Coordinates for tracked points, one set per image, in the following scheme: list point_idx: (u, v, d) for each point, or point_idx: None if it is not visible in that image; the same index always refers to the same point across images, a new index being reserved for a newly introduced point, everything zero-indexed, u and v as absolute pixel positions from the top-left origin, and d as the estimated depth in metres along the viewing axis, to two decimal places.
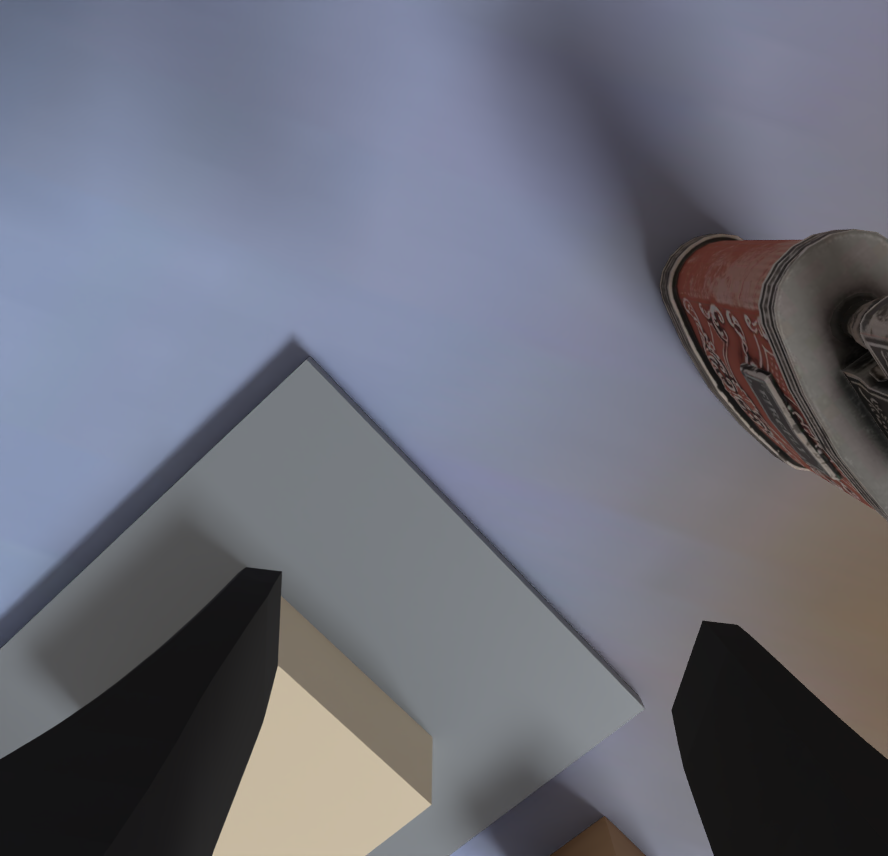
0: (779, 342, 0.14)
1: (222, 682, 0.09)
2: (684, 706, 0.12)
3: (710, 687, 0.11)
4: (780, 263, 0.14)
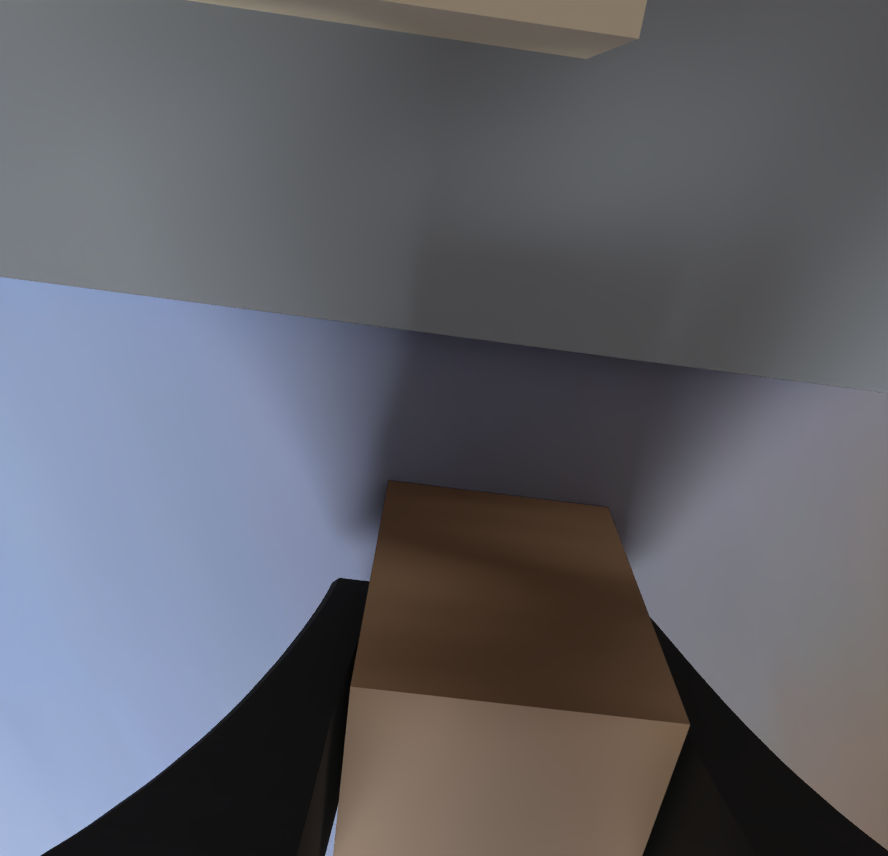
0: None
1: (342, 695, 0.09)
2: None
3: None
4: None
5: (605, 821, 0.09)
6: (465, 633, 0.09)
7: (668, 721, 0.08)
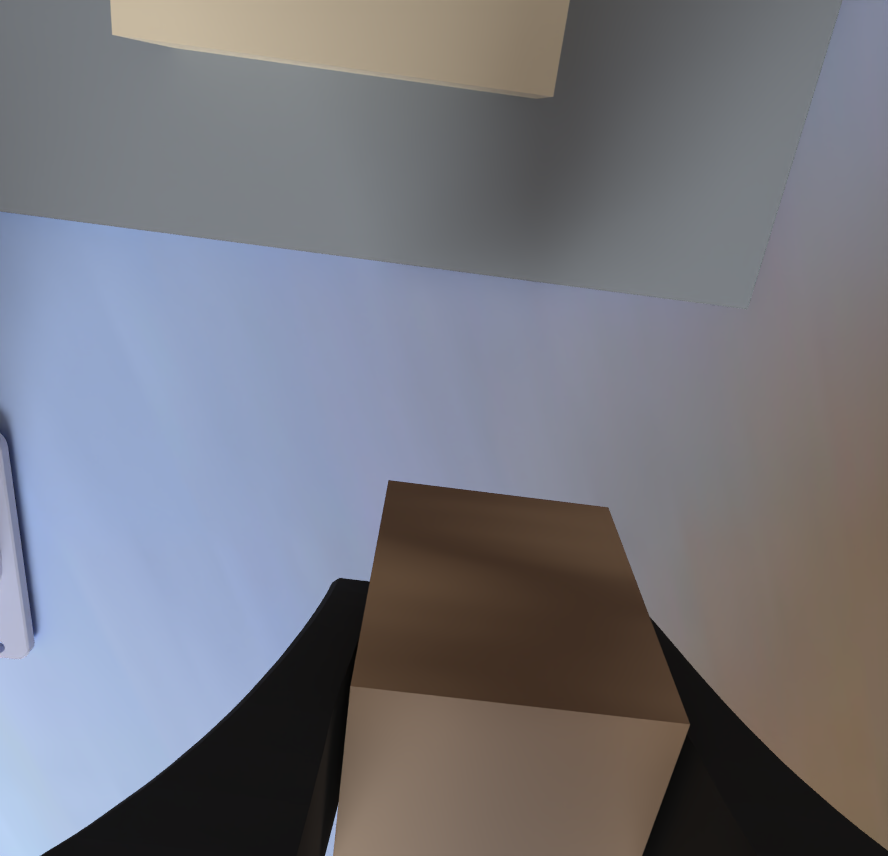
0: None
1: (342, 695, 0.09)
2: None
3: None
4: None
5: (605, 821, 0.09)
6: (466, 632, 0.09)
7: (668, 721, 0.08)
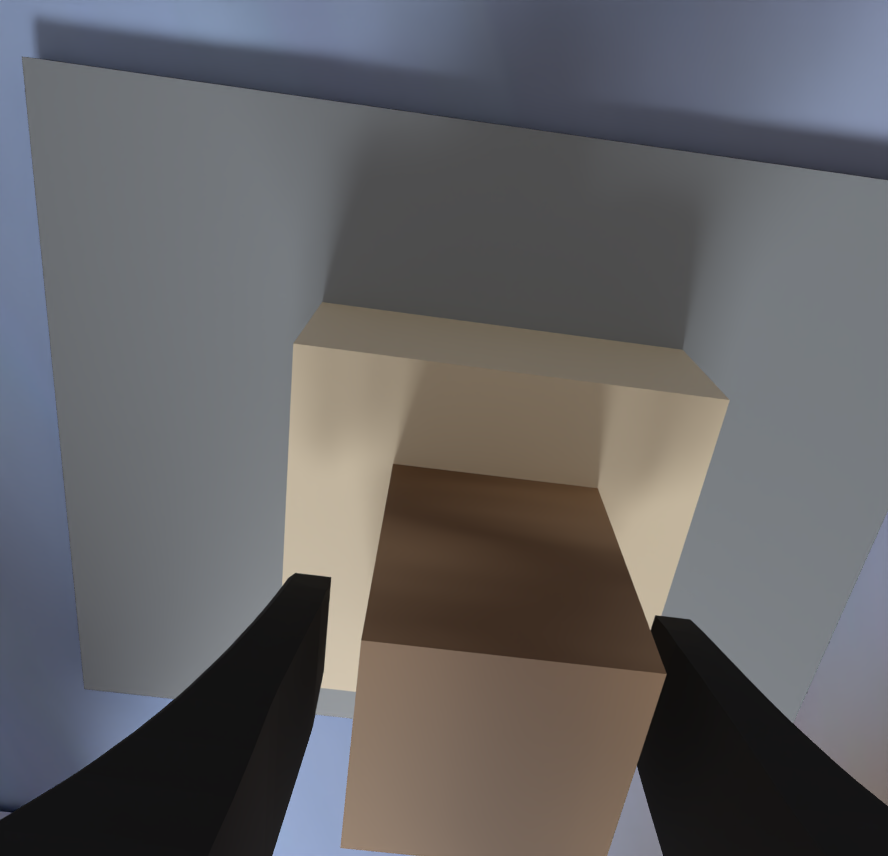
0: None
1: (286, 689, 0.09)
2: None
3: None
4: None
5: (592, 766, 0.10)
6: (464, 595, 0.10)
7: (647, 670, 0.09)
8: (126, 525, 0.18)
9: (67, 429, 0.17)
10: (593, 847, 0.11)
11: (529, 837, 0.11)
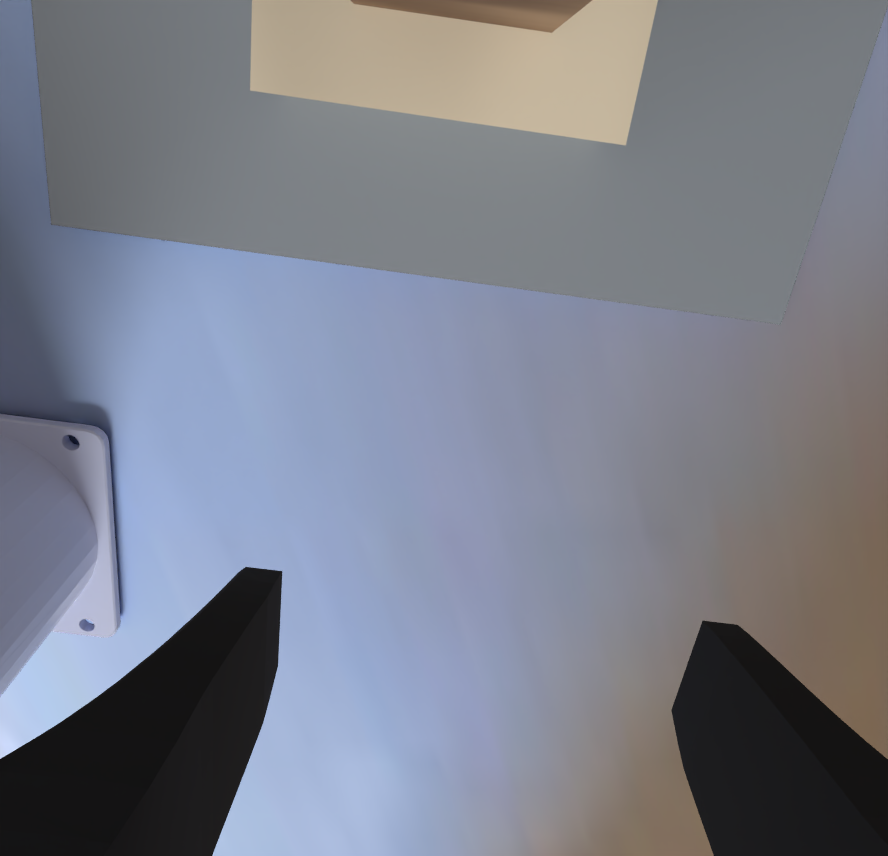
0: None
1: (222, 682, 0.09)
2: (684, 706, 0.12)
3: (710, 687, 0.11)
4: None
5: None
6: None
7: None
8: None
9: None
10: None
11: None
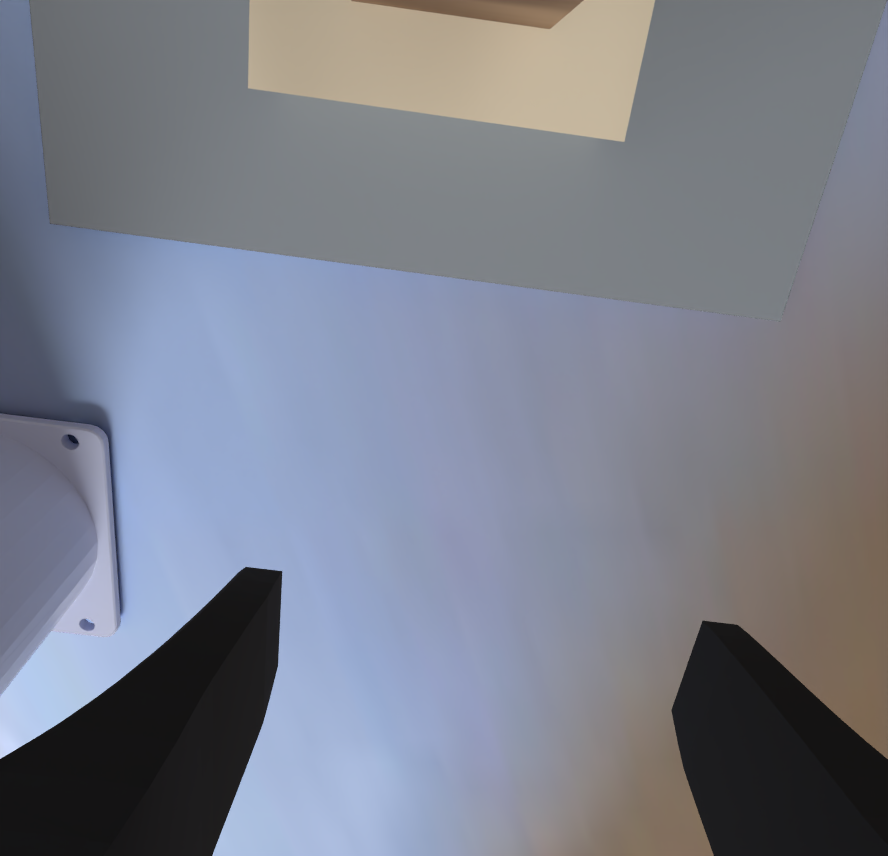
0: None
1: (222, 682, 0.09)
2: (684, 706, 0.12)
3: (710, 687, 0.11)
4: None
5: None
6: None
7: None
8: None
9: None
10: None
11: None
